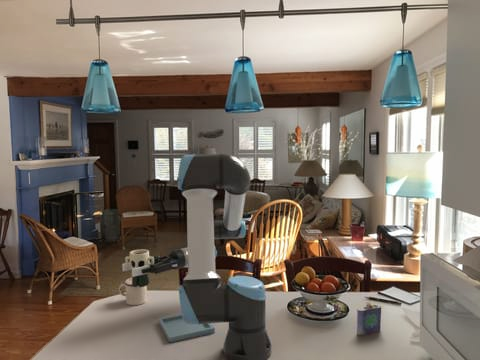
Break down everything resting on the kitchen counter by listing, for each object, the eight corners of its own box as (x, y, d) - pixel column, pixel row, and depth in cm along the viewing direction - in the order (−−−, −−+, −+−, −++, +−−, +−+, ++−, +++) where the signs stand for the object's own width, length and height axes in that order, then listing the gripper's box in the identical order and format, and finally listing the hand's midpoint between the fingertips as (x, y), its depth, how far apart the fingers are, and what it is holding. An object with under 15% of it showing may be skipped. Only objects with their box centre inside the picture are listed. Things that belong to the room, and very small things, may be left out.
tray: (214, 332, 136) (214, 327, 136) (169, 343, 129) (169, 337, 129) (199, 314, 151) (199, 310, 150) (158, 323, 144) (158, 318, 144)
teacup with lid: (150, 297, 169) (149, 271, 168) (143, 306, 160) (142, 278, 159) (123, 297, 170) (122, 270, 169) (115, 305, 161) (114, 278, 160)
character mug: (122, 289, 143) (121, 254, 142) (129, 282, 150) (128, 249, 149) (152, 289, 142) (150, 254, 141) (157, 282, 150) (156, 249, 148)
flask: (359, 336, 132) (360, 305, 131) (354, 332, 135) (354, 302, 134) (382, 332, 135) (383, 302, 134) (376, 328, 138) (377, 299, 137)
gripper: (195, 273, 150) (140, 287, 135) (169, 262, 165) (116, 273, 151) (195, 254, 149) (139, 266, 135) (168, 244, 165) (116, 254, 150)
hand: (127, 270), depth 143 cm, fingers closed on character mug, 8 cm apart
